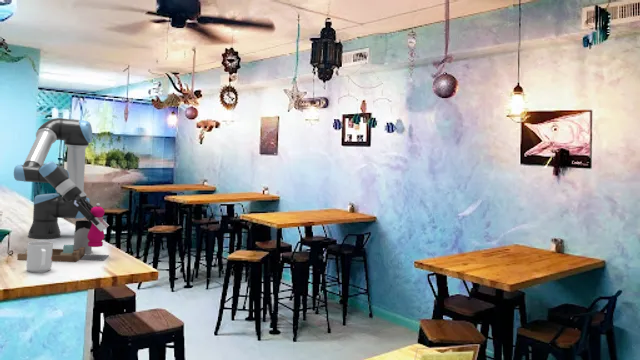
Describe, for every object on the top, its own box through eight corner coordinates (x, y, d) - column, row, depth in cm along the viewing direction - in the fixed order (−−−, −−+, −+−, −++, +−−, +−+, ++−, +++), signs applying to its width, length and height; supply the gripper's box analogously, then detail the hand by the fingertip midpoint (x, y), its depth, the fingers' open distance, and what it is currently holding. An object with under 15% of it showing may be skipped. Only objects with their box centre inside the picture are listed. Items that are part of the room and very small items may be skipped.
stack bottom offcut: (65, 257, 221) (65, 250, 221) (76, 257, 221) (76, 251, 221) (60, 259, 216) (60, 252, 216) (71, 260, 216) (71, 253, 216)
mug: (24, 268, 196) (25, 241, 195) (48, 266, 202) (50, 240, 201) (29, 275, 187) (31, 247, 186) (55, 273, 192) (56, 246, 192)
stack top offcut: (63, 251, 219) (64, 244, 219) (73, 251, 221) (73, 244, 221) (62, 253, 216) (63, 246, 216) (72, 253, 217) (73, 246, 217)
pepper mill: (97, 247, 219) (99, 204, 218) (83, 246, 220) (86, 202, 219) (107, 245, 226) (110, 203, 225) (93, 243, 227) (96, 201, 226)
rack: (29, 253, 221) (30, 244, 221) (84, 255, 226) (84, 247, 226) (17, 259, 208) (17, 250, 208) (75, 262, 213) (76, 253, 212)
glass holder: (72, 254, 226) (74, 222, 225) (72, 248, 239) (74, 218, 238) (92, 254, 230) (94, 223, 229) (91, 248, 243) (93, 218, 242)
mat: (86, 254, 227) (86, 254, 227) (108, 255, 229) (108, 255, 229) (79, 259, 217) (80, 258, 217) (103, 260, 219) (103, 259, 219)
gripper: (69, 194, 228) (103, 230, 232) (55, 198, 210) (93, 237, 214) (81, 184, 229) (115, 220, 233) (69, 187, 211) (106, 226, 215)
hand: (105, 228), depth 223 cm, fingers closed on pepper mill, 5 cm apart
